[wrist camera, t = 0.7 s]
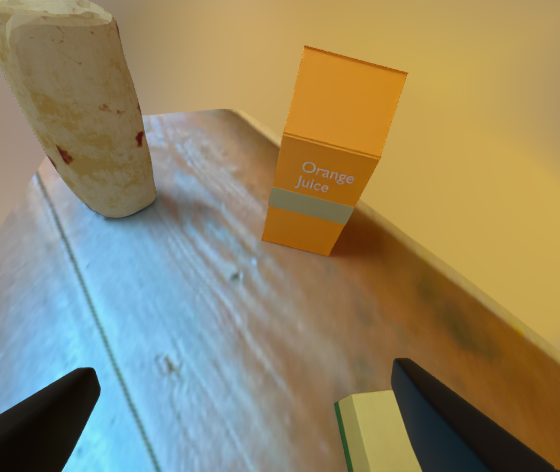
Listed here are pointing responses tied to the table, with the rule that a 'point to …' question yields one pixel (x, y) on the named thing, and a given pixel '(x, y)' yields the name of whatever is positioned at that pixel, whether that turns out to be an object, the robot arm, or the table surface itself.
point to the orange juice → (329, 147)
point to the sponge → (374, 434)
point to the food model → (79, 99)
